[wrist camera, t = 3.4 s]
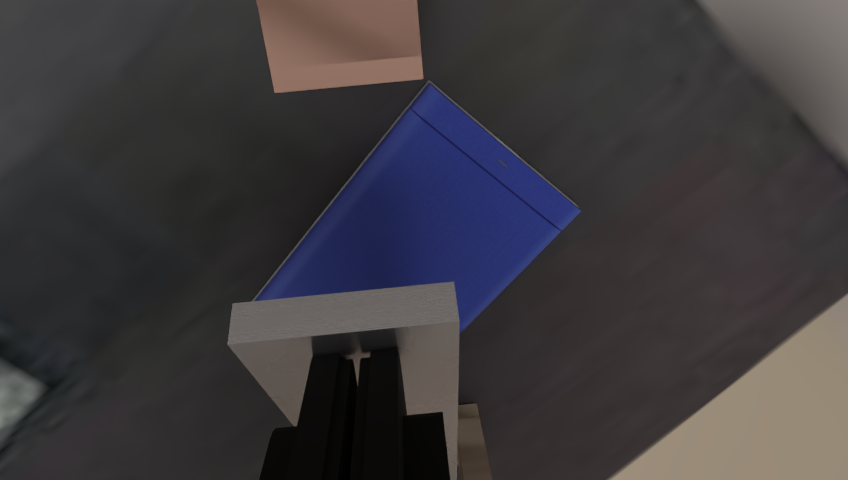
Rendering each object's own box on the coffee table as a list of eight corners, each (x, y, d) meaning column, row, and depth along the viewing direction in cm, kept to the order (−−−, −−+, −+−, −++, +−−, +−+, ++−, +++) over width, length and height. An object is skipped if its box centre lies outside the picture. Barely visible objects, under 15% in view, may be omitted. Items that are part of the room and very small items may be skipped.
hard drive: (395, 404, 26) (584, 213, 22) (244, 315, 23) (430, 83, 20) (395, 382, 27) (572, 199, 24) (252, 296, 25) (427, 76, 21)
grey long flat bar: (453, 481, 25) (456, 514, 25) (367, 490, 25) (368, 524, 24) (452, 267, 10) (461, 337, 9) (234, 288, 10) (225, 360, 9)
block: (414, 53, 20) (423, 79, 15) (306, 63, 20) (274, 93, 15) (405, -58, 19) (410, -75, 13) (287, -48, 19) (244, -60, 13)
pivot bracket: (479, 447, 29) (497, 545, 24) (342, 461, 29) (331, 562, 24) (476, 403, 27) (495, 496, 22) (333, 417, 27) (320, 514, 22)
